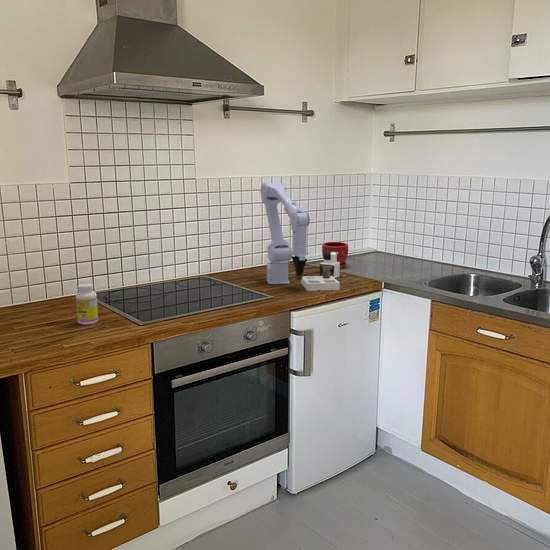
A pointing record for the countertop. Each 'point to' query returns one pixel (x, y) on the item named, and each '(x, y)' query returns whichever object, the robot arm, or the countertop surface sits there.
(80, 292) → the supplement bottle
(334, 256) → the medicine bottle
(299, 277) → the walnut pin
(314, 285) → the pin board
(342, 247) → the plant pot
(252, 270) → the countertop surface
